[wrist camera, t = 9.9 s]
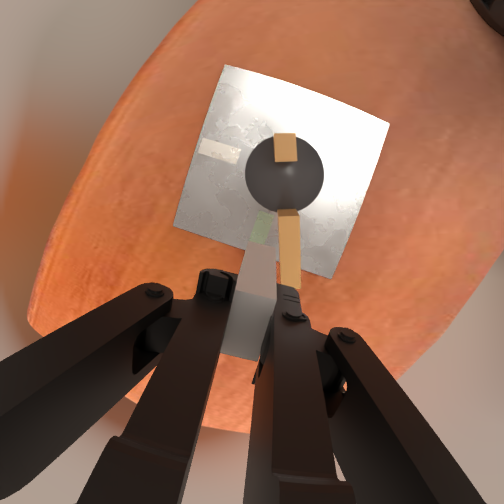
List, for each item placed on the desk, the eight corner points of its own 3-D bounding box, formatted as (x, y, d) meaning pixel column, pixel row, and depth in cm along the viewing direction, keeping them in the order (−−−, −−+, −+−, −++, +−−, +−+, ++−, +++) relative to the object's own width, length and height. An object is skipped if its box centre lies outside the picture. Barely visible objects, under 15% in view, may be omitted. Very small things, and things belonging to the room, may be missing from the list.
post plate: (386, 124, 36) (404, 119, 31) (329, 276, 43) (338, 293, 37) (226, 67, 36) (219, 52, 30) (175, 224, 42) (161, 234, 36)
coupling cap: (245, 139, 32) (238, 133, 25) (316, 136, 32) (330, 129, 24) (253, 263, 36) (248, 290, 29) (320, 260, 36) (332, 286, 28)
